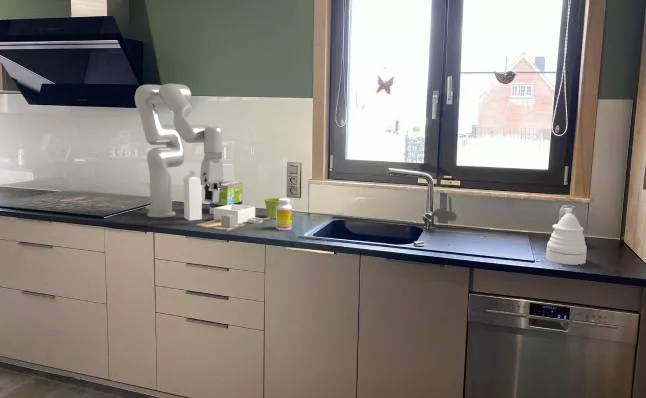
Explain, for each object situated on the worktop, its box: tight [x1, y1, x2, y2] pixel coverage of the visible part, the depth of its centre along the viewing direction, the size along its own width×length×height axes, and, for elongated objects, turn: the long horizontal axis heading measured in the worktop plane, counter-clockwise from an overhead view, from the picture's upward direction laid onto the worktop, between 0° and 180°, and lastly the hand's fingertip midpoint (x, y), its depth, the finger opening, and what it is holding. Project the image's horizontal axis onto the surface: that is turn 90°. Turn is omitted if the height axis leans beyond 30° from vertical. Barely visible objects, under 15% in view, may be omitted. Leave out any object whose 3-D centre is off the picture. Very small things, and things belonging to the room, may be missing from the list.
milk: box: [183, 170, 203, 221], centre depth 245 cm, size 6×6×22 cm
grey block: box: [204, 188, 220, 203], centre depth 233 cm, size 4×4×5 cm
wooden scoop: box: [246, 216, 271, 225], centre depth 244 cm, size 11×4×2 cm, turn 138°
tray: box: [195, 219, 246, 231], centre depth 233 cm, size 16×13×1 cm
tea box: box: [209, 180, 244, 215], centre depth 264 cm, size 15×10×15 cm
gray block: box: [221, 214, 236, 228], centre depth 231 cm, size 4×4×5 cm
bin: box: [213, 204, 256, 224], centre depth 246 cm, size 13×13×6 cm
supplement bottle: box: [275, 198, 293, 231], centre depth 230 cm, size 7×7×13 cm
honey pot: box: [545, 208, 588, 266], centre depth 191 cm, size 13×13×18 cm
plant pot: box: [263, 197, 281, 220], centre depth 255 cm, size 9×9×9 cm
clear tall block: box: [558, 204, 577, 222], centre depth 217 cm, size 6×6×15 cm
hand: (211, 198), depth 233 cm, fingers closed on grey block, 3 cm apart
